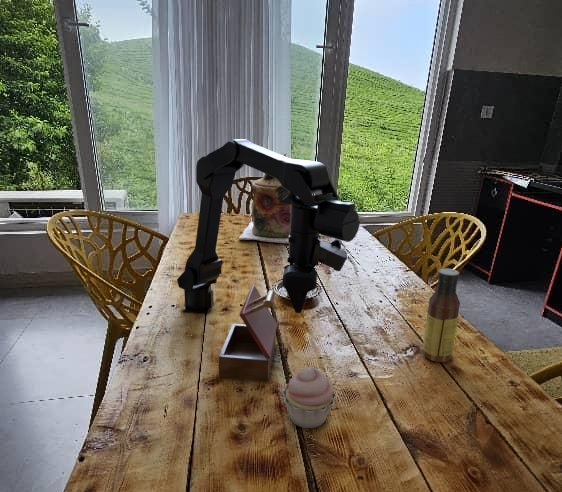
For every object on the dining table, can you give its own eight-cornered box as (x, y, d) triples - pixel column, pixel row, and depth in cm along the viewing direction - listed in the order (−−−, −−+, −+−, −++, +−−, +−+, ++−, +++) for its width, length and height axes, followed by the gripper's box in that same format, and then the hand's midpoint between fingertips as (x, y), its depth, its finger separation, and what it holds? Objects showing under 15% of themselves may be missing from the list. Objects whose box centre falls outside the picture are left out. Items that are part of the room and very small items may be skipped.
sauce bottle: (451, 352, 99) (468, 268, 91) (451, 366, 93) (469, 279, 86) (420, 346, 101) (435, 264, 93) (419, 360, 95) (434, 274, 88)
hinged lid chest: (218, 377, 87) (218, 356, 85) (232, 342, 99) (232, 323, 97) (267, 381, 86) (268, 360, 84) (275, 345, 98) (275, 326, 97)
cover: (239, 314, 81) (263, 303, 80) (250, 286, 94) (272, 276, 92) (266, 359, 84) (290, 349, 83) (274, 325, 97) (295, 316, 95)
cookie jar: (250, 224, 192) (251, 148, 180) (306, 229, 189) (311, 151, 177) (237, 241, 169) (237, 155, 157) (301, 246, 166) (306, 158, 154)
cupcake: (319, 444, 71) (324, 392, 67) (270, 421, 75) (272, 371, 72) (344, 412, 78) (349, 364, 75) (298, 393, 83) (301, 347, 79)
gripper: (348, 247, 76) (340, 328, 82) (345, 220, 93) (338, 288, 99) (284, 243, 77) (280, 322, 83) (292, 216, 94) (288, 284, 100)
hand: (299, 302), depth 91 cm, fingers open, 9 cm apart
